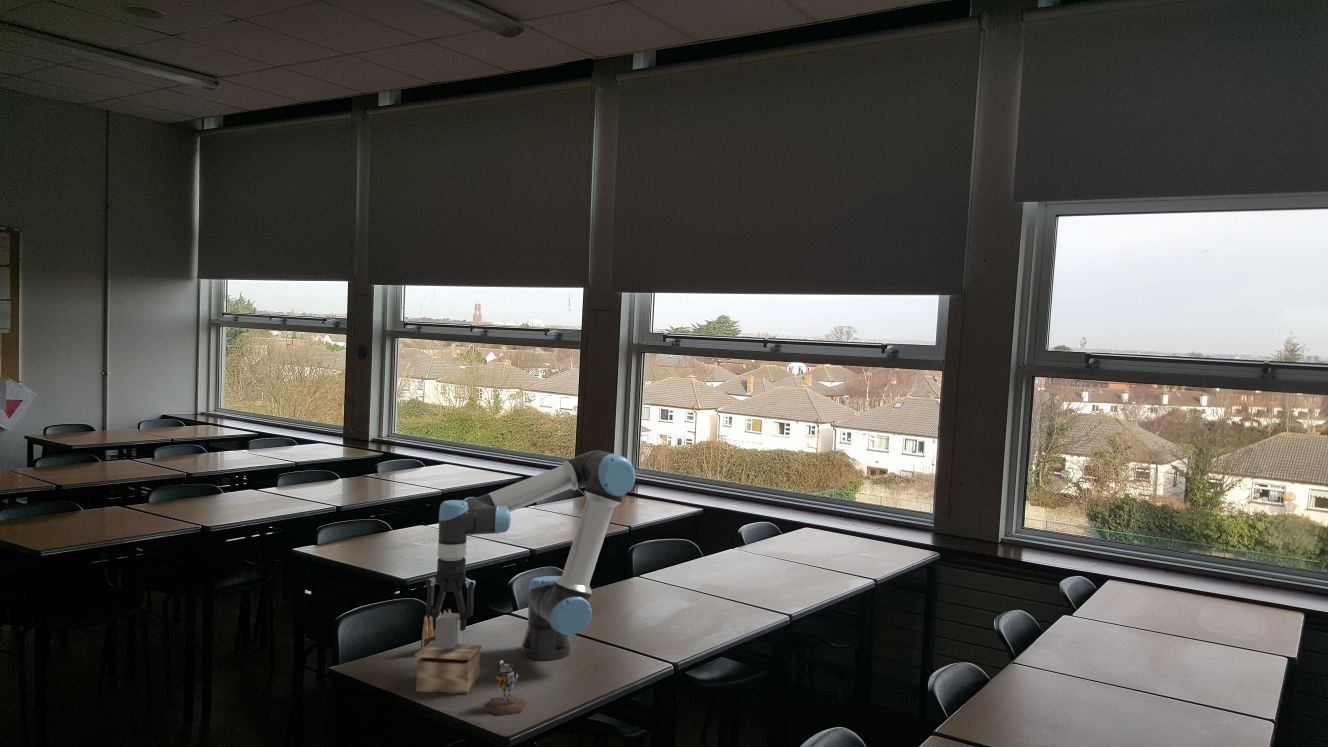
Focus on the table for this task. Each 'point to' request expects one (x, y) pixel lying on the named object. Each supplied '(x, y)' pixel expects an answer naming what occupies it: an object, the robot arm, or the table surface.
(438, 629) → the grey taped box
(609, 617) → the table surface
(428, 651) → the lid
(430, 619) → the ammunition clip
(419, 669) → the crate
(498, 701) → the robot figurine
